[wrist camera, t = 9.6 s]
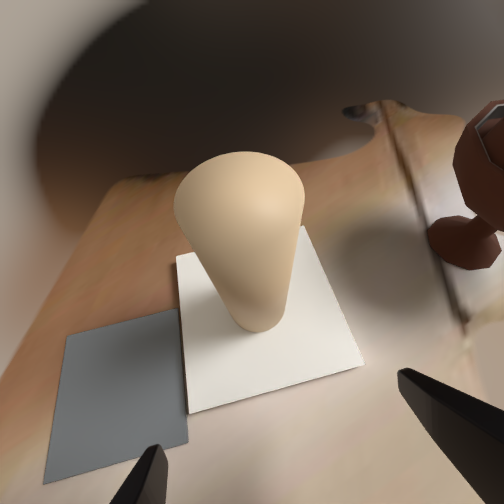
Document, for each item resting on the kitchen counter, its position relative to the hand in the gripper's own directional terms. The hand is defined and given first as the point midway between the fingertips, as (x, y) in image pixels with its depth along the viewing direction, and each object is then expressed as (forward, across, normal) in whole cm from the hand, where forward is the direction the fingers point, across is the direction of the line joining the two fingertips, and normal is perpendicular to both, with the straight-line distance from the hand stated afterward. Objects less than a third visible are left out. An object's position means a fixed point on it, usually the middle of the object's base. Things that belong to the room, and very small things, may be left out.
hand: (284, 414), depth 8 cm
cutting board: (+11, 0, +1) cm, 11 cm away
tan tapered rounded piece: (+10, 0, 0) cm, 10 cm away
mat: (+9, +11, +3) cm, 14 cm away
